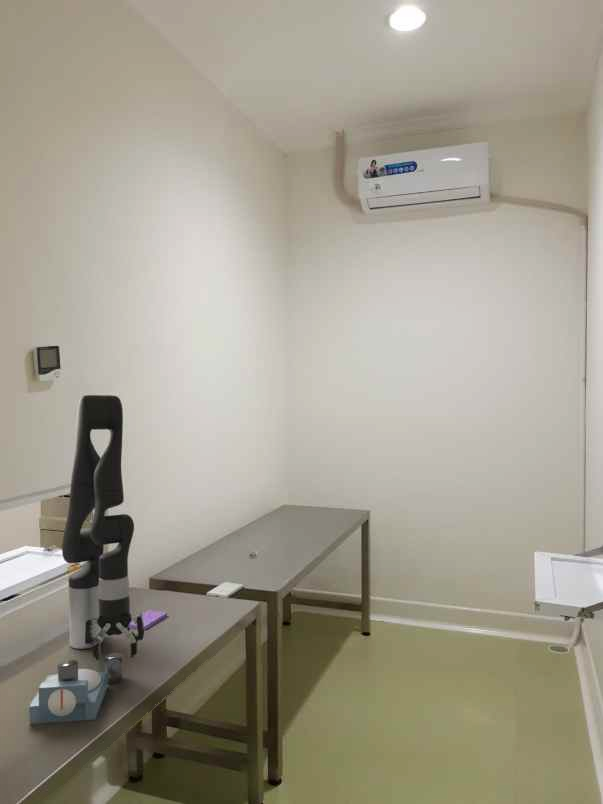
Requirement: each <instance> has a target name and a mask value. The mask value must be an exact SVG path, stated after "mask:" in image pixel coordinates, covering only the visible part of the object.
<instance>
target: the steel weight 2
mask: <svg viewBox="0 0 603 804" xmlns="http://www.w3.org/2000/svg"><path fill="white" fill-rule="evenodd" d="M104 667H105V668H104V672H107V685H115V684H118V683H121V682H122V681H123V680H124V655H123V653H120V652H111V653H108V654H106V655H105V656H104Z"/></svg>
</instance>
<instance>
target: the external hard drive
mask: <svg viewBox="0 0 603 804" xmlns="http://www.w3.org/2000/svg"><path fill="white" fill-rule="evenodd" d="M242 587H243V588H244V584H242V583H241V584H240V583H236V582H235V583H233V582H228V581H227V582H226V581H225V582H222V583H220V584H219V585H217V586H216V587H214V588H213V589H210V590H209V591H207V592H206V596H211V597H220V598H227V599H228V598H229V597H230V596H232V595H234V594H235V593H236V592H238V591H240V590H242V589H243V588H242Z"/></svg>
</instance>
